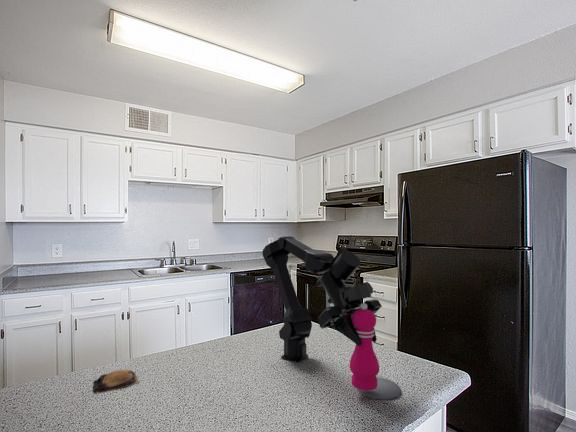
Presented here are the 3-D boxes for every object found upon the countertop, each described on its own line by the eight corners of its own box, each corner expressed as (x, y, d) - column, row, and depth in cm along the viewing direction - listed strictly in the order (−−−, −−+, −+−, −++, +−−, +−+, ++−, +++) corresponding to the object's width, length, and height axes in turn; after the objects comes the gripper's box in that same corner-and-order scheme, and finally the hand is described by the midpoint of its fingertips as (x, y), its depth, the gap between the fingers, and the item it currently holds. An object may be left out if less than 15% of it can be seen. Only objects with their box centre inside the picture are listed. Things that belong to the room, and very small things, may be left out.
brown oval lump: (135, 374, 93) (135, 361, 93) (140, 386, 86) (140, 372, 86) (91, 383, 87) (92, 369, 87) (93, 397, 80) (93, 381, 80)
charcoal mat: (349, 391, 83) (349, 389, 83) (365, 375, 92) (365, 373, 92) (393, 404, 76) (393, 402, 76) (405, 386, 86) (405, 383, 86)
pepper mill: (376, 378, 84) (375, 300, 85) (382, 392, 77) (381, 306, 77) (348, 377, 84) (347, 299, 85) (351, 391, 77) (350, 306, 78)
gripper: (325, 274, 79) (359, 332, 70) (376, 269, 90) (411, 319, 81) (305, 300, 86) (334, 357, 76) (355, 293, 96) (385, 342, 87)
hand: (368, 343), depth 80 cm, fingers closed on pepper mill, 5 cm apart
